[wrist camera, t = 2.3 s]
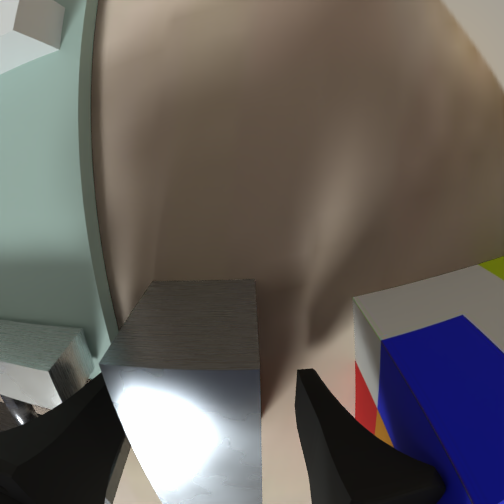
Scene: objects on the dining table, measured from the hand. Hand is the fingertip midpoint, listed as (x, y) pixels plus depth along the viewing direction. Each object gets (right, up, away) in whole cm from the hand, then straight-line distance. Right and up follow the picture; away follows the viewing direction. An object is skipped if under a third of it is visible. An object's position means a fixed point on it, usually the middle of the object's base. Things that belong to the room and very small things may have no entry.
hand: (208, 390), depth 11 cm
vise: (-10, +8, -1) cm, 13 cm away
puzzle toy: (+12, 0, +2) cm, 12 cm away
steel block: (0, +1, +2) cm, 2 cm away
